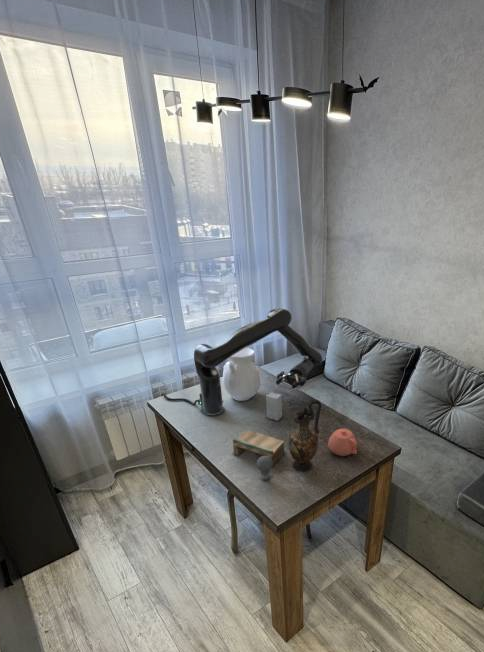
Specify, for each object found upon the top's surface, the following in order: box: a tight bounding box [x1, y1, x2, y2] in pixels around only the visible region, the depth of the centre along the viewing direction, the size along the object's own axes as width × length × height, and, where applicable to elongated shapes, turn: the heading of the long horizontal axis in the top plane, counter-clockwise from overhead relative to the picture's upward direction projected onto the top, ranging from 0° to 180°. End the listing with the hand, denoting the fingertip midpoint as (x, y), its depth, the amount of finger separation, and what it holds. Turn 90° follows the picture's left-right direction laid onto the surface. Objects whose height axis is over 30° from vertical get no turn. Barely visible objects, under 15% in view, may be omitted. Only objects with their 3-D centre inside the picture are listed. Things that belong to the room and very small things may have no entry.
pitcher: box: [222, 347, 261, 402], centre depth 198 cm, size 19×18×25 cm
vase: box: [287, 399, 322, 472], centre depth 151 cm, size 12×12×30 cm
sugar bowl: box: [327, 428, 358, 457], centre depth 166 cm, size 12×14×10 cm
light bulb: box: [256, 455, 274, 480], centre depth 149 cm, size 6×6×10 cm
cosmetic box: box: [265, 391, 283, 422], centre depth 186 cm, size 6×4×12 cm
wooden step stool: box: [232, 429, 285, 466], centre depth 163 cm, size 18×10×8 cm, turn 67°
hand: (284, 384), depth 191 cm, fingers open, 8 cm apart
